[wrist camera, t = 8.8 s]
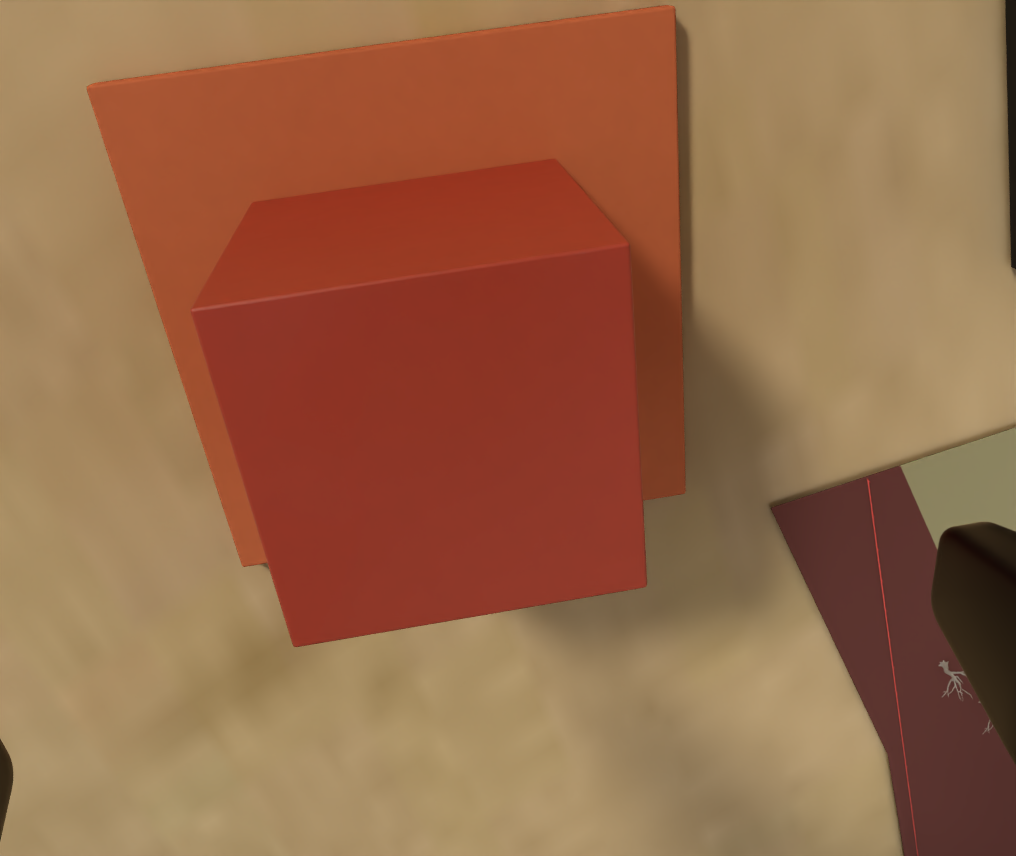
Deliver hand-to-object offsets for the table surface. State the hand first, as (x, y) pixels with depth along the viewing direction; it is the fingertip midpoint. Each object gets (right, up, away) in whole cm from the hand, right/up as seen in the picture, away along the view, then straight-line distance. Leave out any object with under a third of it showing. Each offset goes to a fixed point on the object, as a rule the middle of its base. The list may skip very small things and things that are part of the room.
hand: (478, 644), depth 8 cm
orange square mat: (-1, +4, +8) cm, 9 cm away
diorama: (+14, -5, +15) cm, 21 cm away
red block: (-1, +4, +7) cm, 8 cm away
